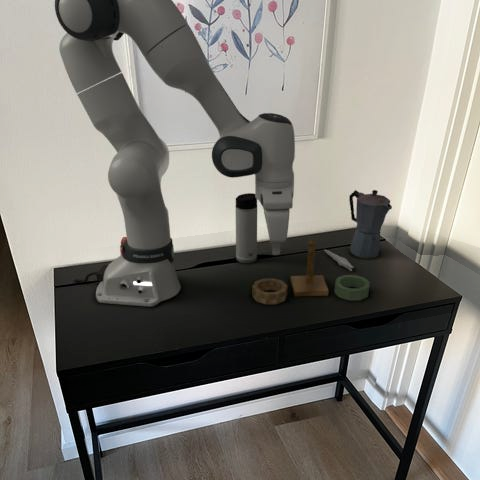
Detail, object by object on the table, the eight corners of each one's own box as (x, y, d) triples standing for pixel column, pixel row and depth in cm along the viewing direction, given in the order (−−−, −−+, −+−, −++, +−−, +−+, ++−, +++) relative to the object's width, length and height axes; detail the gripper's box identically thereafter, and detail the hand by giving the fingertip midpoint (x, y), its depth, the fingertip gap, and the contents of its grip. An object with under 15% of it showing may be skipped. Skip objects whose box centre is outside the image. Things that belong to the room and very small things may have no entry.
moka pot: (374, 265, 152) (384, 199, 141) (333, 249, 161) (339, 186, 151) (393, 255, 157) (403, 191, 147) (352, 241, 167) (359, 179, 156)
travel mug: (256, 264, 153) (256, 198, 142) (234, 262, 154) (233, 197, 143) (259, 255, 158) (260, 191, 147) (238, 254, 159) (237, 190, 149)
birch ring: (253, 304, 133) (253, 294, 131) (251, 288, 140) (251, 278, 139) (288, 304, 133) (289, 293, 131) (285, 287, 140) (285, 278, 139)
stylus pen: (356, 270, 149) (357, 264, 148) (348, 272, 148) (349, 266, 147) (327, 251, 160) (328, 245, 159) (320, 252, 159) (320, 247, 158)
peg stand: (294, 296, 136) (297, 248, 129) (290, 280, 144) (292, 234, 137) (328, 295, 137) (332, 247, 129) (322, 279, 144) (326, 233, 137)
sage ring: (337, 300, 134) (338, 290, 133) (331, 285, 142) (332, 275, 140) (372, 300, 134) (374, 290, 133) (364, 284, 142) (365, 274, 140)
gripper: (257, 176, 126) (258, 229, 134) (263, 205, 109) (264, 264, 116) (283, 175, 127) (282, 228, 134) (293, 203, 109) (292, 263, 117)
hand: (274, 245), depth 125 cm, fingers open, 8 cm apart
